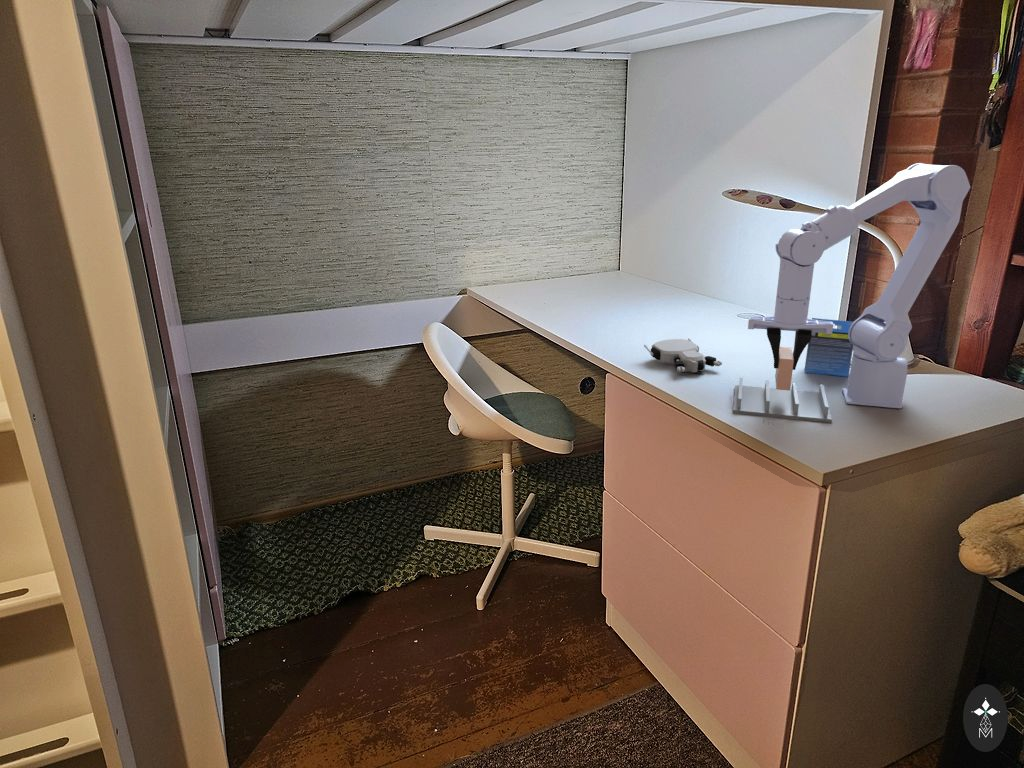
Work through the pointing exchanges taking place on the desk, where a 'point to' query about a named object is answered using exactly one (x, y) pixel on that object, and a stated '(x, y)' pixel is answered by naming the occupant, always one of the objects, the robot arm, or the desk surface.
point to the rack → (781, 402)
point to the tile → (784, 369)
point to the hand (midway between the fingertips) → (784, 367)
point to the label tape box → (830, 351)
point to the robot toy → (681, 355)
